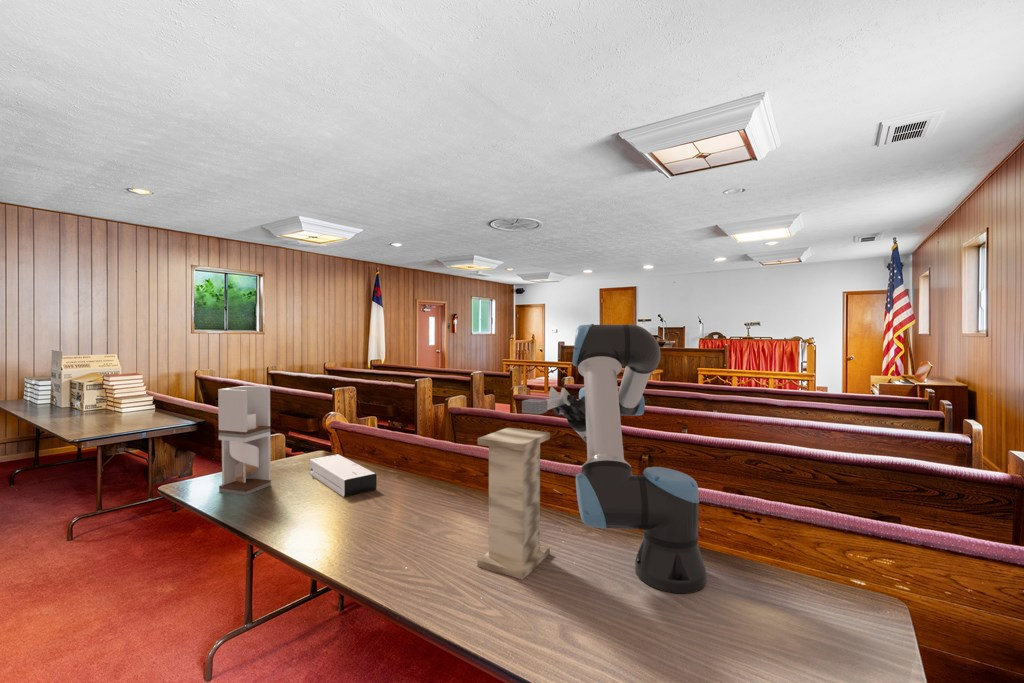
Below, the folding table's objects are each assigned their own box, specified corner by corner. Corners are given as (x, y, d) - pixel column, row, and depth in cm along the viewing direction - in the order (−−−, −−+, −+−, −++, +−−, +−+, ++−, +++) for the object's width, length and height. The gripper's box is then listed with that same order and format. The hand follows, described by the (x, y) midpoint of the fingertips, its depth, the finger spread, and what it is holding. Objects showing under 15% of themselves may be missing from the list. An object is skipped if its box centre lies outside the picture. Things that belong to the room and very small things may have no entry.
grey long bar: (559, 400, 140) (559, 390, 140) (574, 402, 138) (574, 392, 138) (521, 412, 119) (522, 401, 119) (538, 414, 117) (538, 402, 117)
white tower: (219, 491, 159) (218, 389, 158) (245, 482, 169) (244, 385, 168) (245, 495, 155) (244, 390, 155) (270, 485, 166) (270, 387, 165)
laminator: (376, 491, 161) (376, 473, 161) (341, 499, 153) (341, 480, 153) (338, 469, 186) (338, 454, 186) (306, 475, 178) (306, 459, 178)
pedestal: (507, 542, 121) (507, 427, 120) (549, 553, 115) (550, 432, 114) (477, 566, 109) (477, 438, 108) (522, 579, 103) (523, 444, 102)
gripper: (603, 435, 145) (580, 406, 127) (556, 429, 152) (528, 402, 134) (607, 412, 148) (585, 381, 130) (561, 408, 156) (534, 378, 138)
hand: (556, 391), depth 132 cm, fingers closed on grey long bar, 3 cm apart
